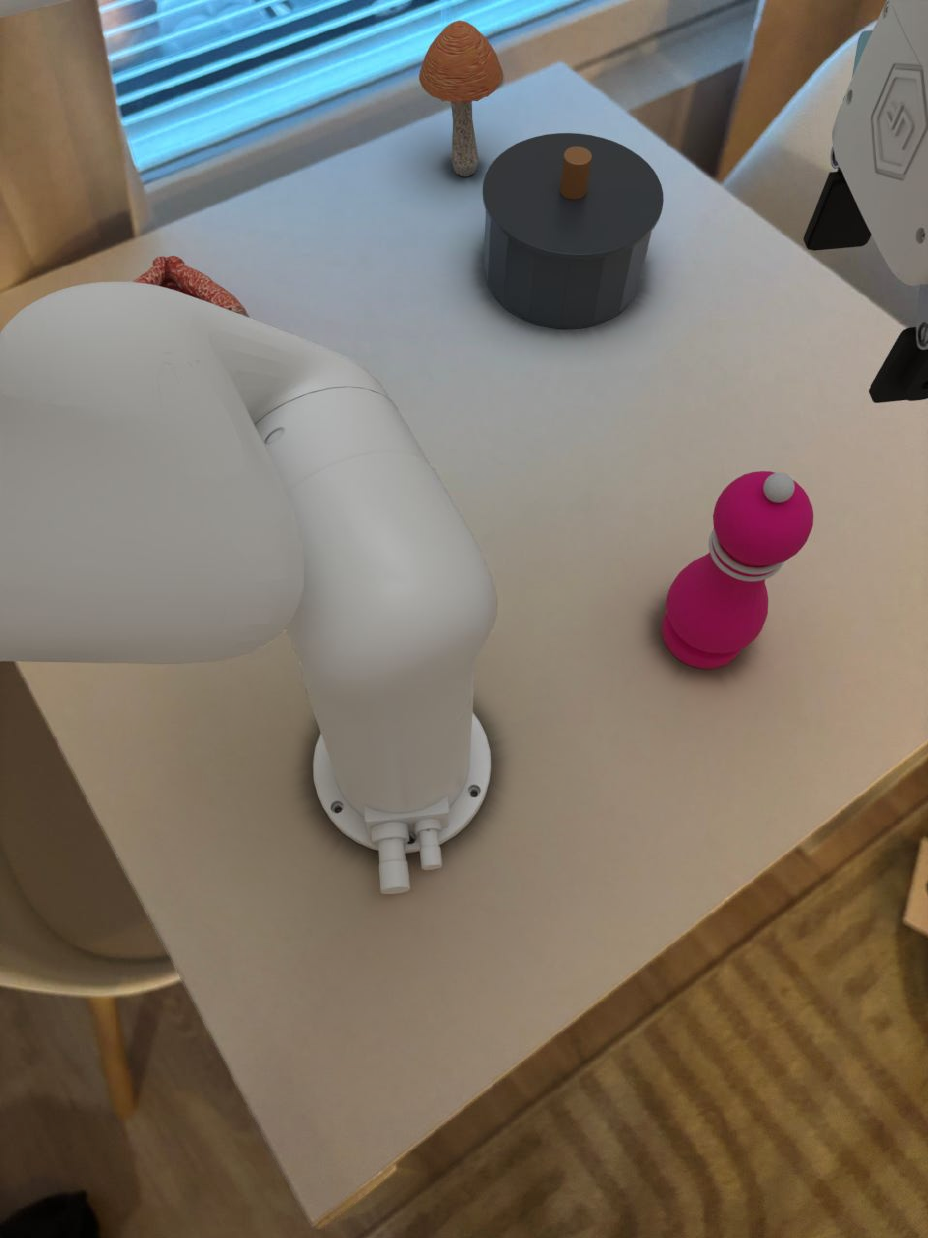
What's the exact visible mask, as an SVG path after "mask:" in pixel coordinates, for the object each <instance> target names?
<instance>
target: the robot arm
mask: <svg viewBox="0 0 928 1238" xmlns="http://www.w3.org/2000/svg"><path fill="white" fill-rule="evenodd" d="M72 1H73V0H0V19H2V18H6V17H9V16H14V15H19V14H22V13H27V12H31V11H35V10H38V9H43V8H46V7H47V8H48V7H51V6H56V5H60V4H64V3H68V2H72ZM856 44H857V45H856V50H855V56H854V61H853V62H854V63H853V67H852V68H853V69H852V75H851V80H850V82H849V84H848V86H847V88H846V91H845V94H844V95H843V98H842V101H841V104H840V107H839V109H838V111H837V115H836V117H835V120H834V123H833V126H832V131H831V141H832V142H831V143H832V146H831V150H830V165H831V167H832V168H833V169H834V170H837V171H831V172H828V175H827V177H826V181H824V182H825V183H824V185H823V188H822V190H821V193H820V195H819V198H818V200H817V202H816V205H815V208H814V210H813V212H812V215H811V218H810V220H809V223H808V225H807V228H806V230H805V232H804V235H803V237H802V238H803V242H804V245H805V247H806V249H807V250H809V251H813V252H814V251H825V250H838V249H849V248H858V247H859V248H860V247H863V246H865V245H867V244H868V243H869V242H870V240H871V237H872V238H873V240H874V242H875V245H876V246H877V249H878V250H879V252H880V254H881V256H882V258H883V260H884V261H885V263H886V266H888V268H889V269H890V271H891V273H893V275H894V276H895V277H896V278H897V279H898V280H899V281H900V282H902V283H903V284H905V285H906V286H909V287H917V286H919V291H918V292H919V293H918V303H917V313H916V322H915V323H916V325H915V326H911V327H907V328H904V329H902V330H901V331H900V333H899V335H898V337H897V338H896V340H895V342H894V344H893V345H892V347H891V349H890V351H889V353H888V354H887V356H886V357H885V359H884V361H883V363H882V365H881V366H880V368H879V370H878V371H877V374H876V375H875V377H874V379H873V381H872V382H871V384H870V386H869V389H868V393H869V396H870V398H871V400H872V402H873V404H883V403H891V402H900V401H901V402H903V401H907V402H908V401H909V402H915V401H923V400H928V0H886V1H885V3H884V5H883V7H882V9H881V12H880V14H879V16H878V18H877V20H876V22H875V25H874V27H873V29H868V30H866V29H865V30H863V31H861V33H860V34H859V36H858V40H857V43H856ZM249 317H250V316H249ZM249 317H246V316H243V315H241V314H238V313H235V312H233V311H230V310H227V309H225V308H222V307H220V306H217V305H214V304H212V303H209V302H206V301H204V300H201V299H198V298H195V297H192V296H189V295H187V294H184V293H181V292H178V291H175V290H172V289H168V288H165V287H161V286H156V285H152V284H144V283H137V282H133V281H96V282H89V283H83V284H82V283H81V284H77V285H73V286H69V287H65V288H62V289H59V290H57V291H54V292H51V293H49V294H46V295H44V296H42V297H40V298H39V299H37V300H35V301H33V302H31V303H29V304H27V306H26V307H24V308H23V309H22V310H20V311H19V312H18V313H16V315H15V316H13V318H12V319H10V320H9V321H8V323H6V325H5V326H4V327H3V328H2V330H1V331H0V662H25V663H26V662H27V663H30V662H31V663H32V662H33V663H73V664H74V663H78V664H79V663H80V664H124V665H125V664H129V665H131V664H132V665H133V664H134V665H135V664H136V665H185V664H186V665H189V664H201V663H214V662H219V661H225V660H229V659H233V658H239V657H242V656H245V655H248V654H250V653H252V652H254V651H256V650H258V649H260V648H262V647H264V646H265V645H267V644H269V643H270V642H272V641H273V640H275V639H276V638H277V637H279V636H280V635H281V634H282V633H283V632H284V631H285V630H286V632H287V635H288V638H289V639H290V642H291V644H292V647H293V650H294V652H295V655H296V658H297V659H298V662H299V667H300V673H301V677H302V681H303V685H304V688H305V692H306V695H307V697H308V698H307V699H308V700H309V704H310V707H311V710H312V711H313V713H314V716H315V720H316V723H317V727H318V728H319V732H320V733H319V736H318V738H317V741H316V745H315V748H314V754H313V759H312V761H313V762H312V769H313V770H312V771H313V783H314V786H315V790H316V794H317V798H318V800H319V802H320V804H321V807H322V808H323V810H324V812H325V813H326V815H327V816H328V818H329V820H330V821H331V822H332V823H333V824H334V825H335V826H336V827H337V829H339V831H340V832H341V833H343V834H344V835H345V836H346V837H348V838H349V839H351V840H353V841H354V842H355V843H357V844H359V845H362V846H364V847H366V848H368V849H370V850H374V851H377V852H378V862H379V863H378V875H379V876H378V877H379V888H380V889H379V890H380V894H384V895H394V894H395V895H396V894H402V893H405V892H408V891H410V890H411V884H410V874H409V863H408V861H407V856H406V854H413V853H418V852H419V858H420V860H419V861H420V868H421V870H423V871H433V870H438V869H441V868H442V867H443V860H442V851H441V846H440V845H442V844H444V843H445V842H448V841H449V840H451V839H452V838H454V837H456V836H457V835H458V834H459V833H461V831H463V830H464V829H465V828H466V827H467V826H468V825H469V824H470V823H471V821H472V820H473V819H474V817H475V816H476V815H477V813H479V811H480V808H481V807H482V805H483V802H484V800H485V798H486V796H487V792H488V789H489V785H490V781H491V773H492V754H491V749H490V748H491V747H490V744H489V740H488V739H489V738H488V736H487V734H486V731H485V730H484V727H483V725H482V723H481V721H480V720H479V718H478V717H477V716H476V714H475V713H474V694H475V673H476V672H475V671H476V663H477V658H478V656H479V654H480V652H481V651H482V649H483V647H484V645H485V644H486V642H487V641H488V639H489V637H490V635H491V633H492V631H493V628H494V627H495V622H496V619H497V616H498V603H499V602H498V594H497V589H496V585H495V581H494V578H493V575H492V573H491V569H490V567H489V565H488V562H487V560H486V558H485V556H484V554H483V551H482V550H481V548H480V545H479V543H478V542H477V540H476V538H475V535H474V534H473V532H472V531H471V528H470V526H469V525H468V523H467V522H466V520H465V518H464V515H463V514H462V513H461V511H460V509H459V508H458V506H457V504H456V502H455V501H454V499H453V498H452V495H451V494H450V492H449V491H448V489H447V487H446V486H445V484H444V482H443V480H442V479H441V477H440V475H439V474H438V471H437V470H436V468H435V467H434V466H432V464H431V463H430V460H429V459H428V458H427V456H426V454H425V452H424V451H423V449H422V447H421V446H420V444H419V442H418V440H417V439H416V437H415V435H414V433H413V432H412V430H411V428H410V427H409V425H408V423H407V422H406V420H405V418H404V416H403V414H402V413H401V412H400V410H399V407H398V406H397V405H396V403H395V402H394V400H393V399H392V397H391V396H390V394H389V392H387V390H386V388H385V387H384V386H383V384H382V383H381V382H380V380H379V379H377V378H376V377H375V375H373V374H372V373H371V372H370V371H369V370H368V369H367V368H366V367H364V366H363V365H361V364H360V363H359V362H357V361H356V360H354V359H352V358H350V357H348V356H346V355H345V354H343V353H341V352H338V351H336V350H335V349H331V348H330V347H327V346H324V345H323V344H320V343H316V342H315V341H311V340H309V339H307V338H304V337H301V336H299V335H296V334H293V333H290V332H288V331H286V330H284V329H283V330H282V329H280V328H277V327H275V326H272V325H269V324H267V323H264V322H261V321H259V320H257V319H254V318H251V317H250V318H249ZM472 793H476V794H477V795H476V796H472V795H471V794H472ZM338 808H339V809H341V810H340V811H339V812H336V809H338ZM410 839H412V840H413V842H412V843H408V842H410Z"/></svg>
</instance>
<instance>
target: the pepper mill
mask: <svg viewBox="0 0 928 1238" xmlns="http://www.w3.org/2000/svg"><path fill="white" fill-rule="evenodd" d="M714 505H715V506H714V509H713V512H712V513H713V514H712V520H713V521H712V522H713V528H712V531H711V532H710V535H709V538H708V550H709V552H708V553H706V554H705V555H703V556H701V557H699V558H697V559H695V560H693V561H691V562H689V564H687V565H686V566H685V567H684V568H683V569H681V570H680V571H679V573H678V574H677V575H676V577H675V578H674V580H673V581H672V583H671V584H670V587H669V589H668V591H667V594H666V601H665V607H666V612H665V615H664V617H663V620H662V625H661V626H662V627H661V630H662V636H663V640H664V644H665V645H666V646H667V648H668V650H669V651H670V653H672V655H673V656H674V657H675V658H677V659H678V660H679V661H681V662H682V663H684V664H686V665H688V666H691V667H693V668H697V669H701V670H702V669H704V670H705V669H706V670H713V669H717V668H721V667H723V666H726V665H728V664H729V663H731V662H733V660H735V658H736V657H737V656H738V655H739V654H740V652H741V651H742V649H744V648H746V647H747V646H749V645H750V644H752V643H753V642H754V641H755V640H756V638H757V637H759V634H760V633H761V631H762V630H763V628H764V626H765V623H766V621H767V618H768V614H769V594H768V589H767V586H766V581H767V579H769V578H771V577H773V576H774V575H776V574H777V573H778V572H780V570H781V568H782V567H783V565H784V564H785V562H786V561H788V560H790V559H791V558H793V557H795V556H796V555H797V554H799V552H800V551H801V550H802V549H803V548H804V546H805V545H806V543H807V542H808V540H809V537H810V535H811V532H812V529H813V526H814V509H813V505H812V502H811V499H810V497H809V495H808V493H807V492H806V491H805V489H804V488H803V487H802V486H801V485H800V484H799V483H798V482H797V481H795V479H793V478H792V477H791V476H790V475H789V474H787V473H785V472H775V471H769V470H759V471H758V470H757V471H751V472H748V473H744V474H742V475H740V476H738V477H736V478H735V479H733V480H732V481H731V482H730V483H729V484H728V485H727V486H725V488H724V489H723V490H722V492H721V493H720V495H719V496H718V498H717V500H716V502H715V504H714Z"/></svg>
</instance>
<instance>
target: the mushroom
mask: <svg viewBox="0 0 928 1238" xmlns="http://www.w3.org/2000/svg"><path fill="white" fill-rule="evenodd" d="M427 49H428V50H427V51H426V53H425V56H424V57H423V61H422V64H421V66H420V70H419V73H418V80H419V84H420V86H421V88H422V89H423V90H424V91H425V92H426V93H427V94H429V95H430V96H431V97H433V98H436V99H439V100H440V101H441V102H450V106H451V115H452V117H451V118H452V137H451V161H452V162H451V163H452V166H453V171H454V173H455V174H456V175H458V176H460V177H469V176H472V175H473V174H475V173H476V172H477V170H478V166H479V165H478V164H479V153H478V146H477V141H476V140H477V139H476V133H475V125H474V120H473V102H478V101H480V100H482V99H484V98H487V97H489V96H490V95H492V94H493V93H494V92H495V91H496V90H497V89H498V88H499V87H500V85H501V84H502V82H503V80H504V72H503V68H502V65H501V63H500V60H499V58H498V55H497V53H496V51H495V49H494V48H493V45H492V44H491V43H490V41H489V40H488V39H487V37H485V35H484V34H483V33H482V32H481V31H479V29H477V28H476V27H475V26H474V25H472V24H471V23H469V22H467V21H464V20H456V21H453V22H450V23H449V24H448V25H447V26H446V27H444V28H443V29H442V30H441V32H439V33H438V35H437V36H436V37H435V38H434V40H433V41H432V43H431V44H430V45H429V47H428V48H427Z"/></svg>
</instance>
